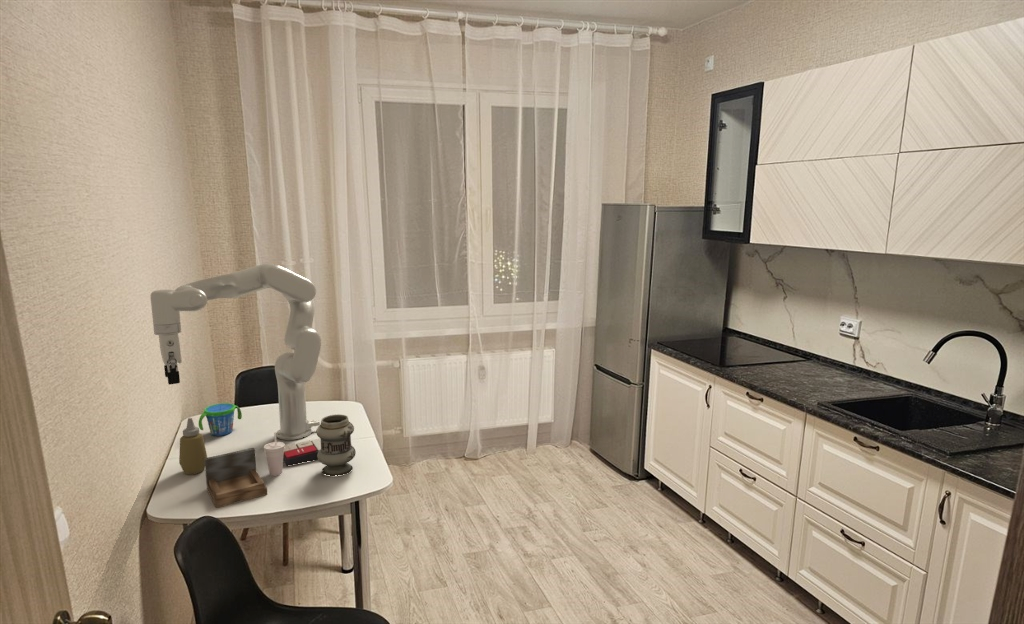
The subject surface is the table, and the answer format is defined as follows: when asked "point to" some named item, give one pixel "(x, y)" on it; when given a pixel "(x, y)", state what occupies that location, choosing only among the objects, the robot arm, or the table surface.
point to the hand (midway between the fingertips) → (172, 379)
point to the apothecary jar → (335, 444)
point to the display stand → (233, 477)
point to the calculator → (301, 452)
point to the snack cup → (220, 418)
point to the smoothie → (274, 456)
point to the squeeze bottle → (192, 450)
